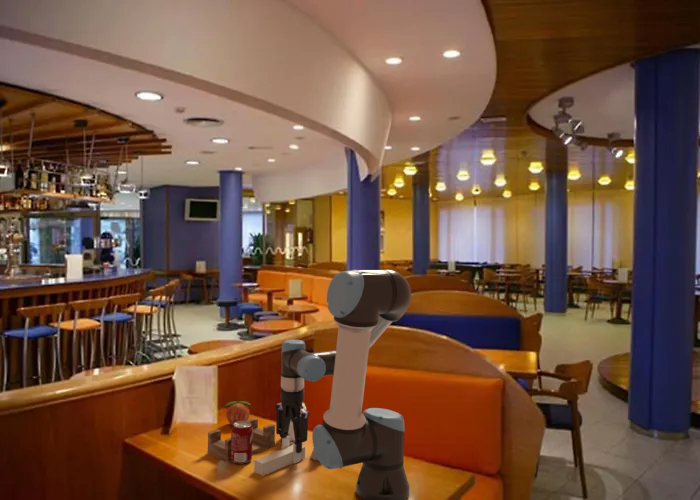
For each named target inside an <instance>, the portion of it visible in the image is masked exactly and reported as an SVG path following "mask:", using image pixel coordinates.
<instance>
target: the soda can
mask: <svg viewBox="0 0 700 500" xmlns="http://www.w3.org/2000/svg"><path fill="white" fill-rule="evenodd" d="M230 438H231V454H230V460H231V461H232V463H234V464H237V465H244V463H245V464H247V463H248V462H251V461H252V459H253V454H252V441H253V428H252V427H251V423H250V422H248V420H247V421H238V422H235V423H234V426H233V427H232V428H231V435H230Z"/></svg>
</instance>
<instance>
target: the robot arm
mask: <svg viewBox="0 0 700 500" xmlns="http://www.w3.org/2000/svg"><path fill="white" fill-rule="evenodd" d="M410 286H411V285H410V283H409V282H408V280H407V279H406V277H404V275H402V274H400V273H399V272H397V271H395V270H392V269H351V270H344V271H343V270H342V271H340V272H337V274H335V275H334V276H333V277H332V279H331V280H330V282H329V285H328V288H327V291H326V292H327V293H326V303H328V304H327V309H328V311H329V313H330V314H331V315H332V316H333V321H334V323H335V324H336V325H337V326H338V328H337V329H338V330H337V341H336V349H335V350H325V351H317V352H308V351H306V343H305V341H304V340H300V339H287V340H284V341H283V342H282V343H281V352H280V354H281V356H280V357H281V365H280V366H281V367H280V369H281V370H280V373H281V374H280V388H281V389H280V401H281V402H279V403H276V404H275V406H274V407H275V412H276V413H275V414H276V417H275V418H276V419H275V421H276V422H275V424H276V425H275V434H276V435H279V437H280V446H281V450H282V449H284V448H287V447H289V446H291V445H290V442H291V441H290V437H289V436H288V435H289V434H288V431H289V426H290V421H292V422H293V429H294V436H295V441H293V443H292V445H293V463H292V464H297V463H298V462H301V460H302V459H301V452H302V446H303V443H305V442H308V430H309V429H308V427H309V426H308V424H309V416H310V411H308V410H306V411H305V410H304V409H303V406H302V403H304V400H305V380H306V381H309V382H317V381H319V380H321V379H322V378H323V377H329V376H332V386H331V394H330V401H329V403H330V404H329V409H327V410H326V411H325V412H323V415H322V417H323V418H322V424H317V425H316V426H314V428H313V429H312V433H311V434H312V436H311V437H312V439H311V440H312V446H313V449H314V450H315V453H316V455H317V458H318V460H319V463H320V464H321V465H322V466H323V467H324V468H325V469H327V470H334V469H335V470H336V469H342V468H346V467H349V466H353V465H357V464H361V463H362V465H361V468H360V471H359V474H358V477H357V480H356V484H355V492H356V495H357V496H358V497H359V498H360V499H361V500H406V499H408V498H409V495H410V484H409V481H408V477H407V473H406V469H405V465H404V462H405V461H404V457H405V455H404V454H405V432H406V429H405V420H404V416H403V415H402V414H401V413H399V412H396V411H394V410H390V409H387V408H382V407H381V408H380V407H379V408H378V407H370V408H366V409H364V410H362V409H363V403H364V394H365V393H364V392H365V386H366V377H367V368H368V360H369V351H370V348H371V347H372V346H373V345H374V344H375V343H376V341H377V340H379V338H380V337H382V336H381V335H383V333H384V332H385V331H386V330H387V329H388V328H389V326H390V325H391V324H392V323H393V322H397V321H399V320H400V319H401V318H402V317H403V316H404V315H405V313H406V312H407V311H408V309H409V307H410V304H411V301H412V290H411V287H410ZM362 411H363V413H362ZM300 459H301V460H300Z"/></svg>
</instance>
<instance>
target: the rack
mask: <svg viewBox="0 0 700 500" xmlns="http://www.w3.org/2000/svg"><path fill="white" fill-rule="evenodd" d="M247 421H248V422H250V423H251V427H252V428H253V441H252V455H253V454H256V453H258V451H259V452H261V451H263V450H267V449H268V448H272V447H274V446H276V440H275V439H276V425H275V424H268V425H265V426H263V427H262V428H260V427H259V426H258V424H259V422H258V421H259V419H258V418H255V417H254V418H251V419H248V420H247ZM221 432H222V430H220V429H215V430H213V431H209V432H208V433H207V452H206V453H207V454H208V455H210V456H212V457H215V458H216V459H218V460H221V461H223V462H225V463H227V464H229V463H231V462H232V461H231V460H230V454H231V437H229V438H226V439H224V440H222V438H221V437H222V433H221ZM266 448H267V449H266ZM232 463H233V462H232Z"/></svg>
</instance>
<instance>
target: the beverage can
mask: <svg viewBox="0 0 700 500" xmlns="http://www.w3.org/2000/svg"><path fill="white" fill-rule="evenodd" d="M302 406H303V409H304V410H305V411H306V412H307V407H306V405H305V402H302ZM288 434H289V435H288V436H289V437H290V442H291V441H292V442H295V436H294V429H293V422H292V421H290V426H289V431H288Z"/></svg>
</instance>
